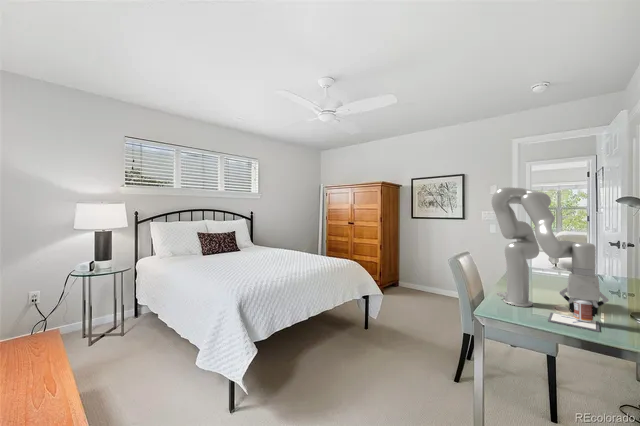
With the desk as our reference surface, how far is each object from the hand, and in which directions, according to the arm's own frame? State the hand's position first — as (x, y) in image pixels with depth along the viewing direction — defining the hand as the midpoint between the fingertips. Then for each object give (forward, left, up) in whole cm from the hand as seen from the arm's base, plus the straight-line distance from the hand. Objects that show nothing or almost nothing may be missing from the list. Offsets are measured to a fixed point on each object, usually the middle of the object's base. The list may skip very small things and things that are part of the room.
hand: (582, 313), depth 124 cm
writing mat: (-3, -3, -4) cm, 6 cm away
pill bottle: (0, 0, -3) cm, 3 cm away
